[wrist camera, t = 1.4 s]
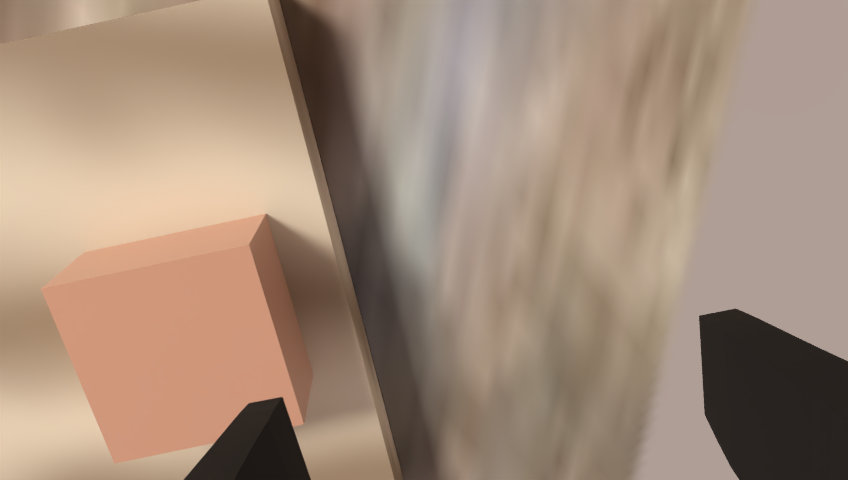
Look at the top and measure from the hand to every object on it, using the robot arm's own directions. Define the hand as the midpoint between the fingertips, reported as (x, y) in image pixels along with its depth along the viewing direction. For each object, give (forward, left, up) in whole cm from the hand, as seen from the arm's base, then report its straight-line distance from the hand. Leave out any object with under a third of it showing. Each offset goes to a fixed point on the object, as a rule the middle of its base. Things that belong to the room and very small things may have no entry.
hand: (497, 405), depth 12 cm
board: (0, +9, -10) cm, 13 cm away
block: (0, +7, -8) cm, 11 cm away
